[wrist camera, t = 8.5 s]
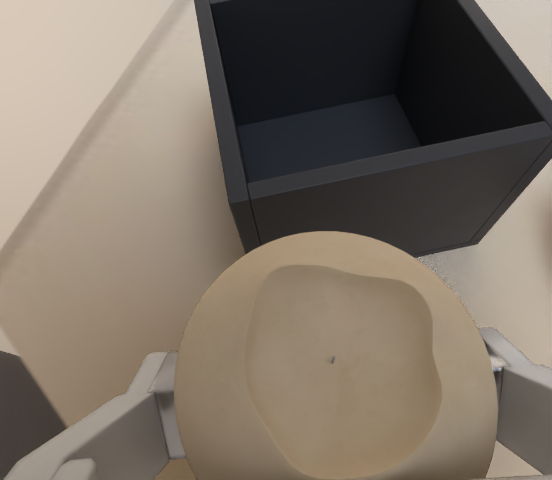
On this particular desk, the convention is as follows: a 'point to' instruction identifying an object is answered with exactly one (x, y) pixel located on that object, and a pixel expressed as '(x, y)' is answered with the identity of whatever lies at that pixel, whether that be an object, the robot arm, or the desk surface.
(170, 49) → the desk surface
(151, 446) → the robot arm
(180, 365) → the candle
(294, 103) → the dark open square box
